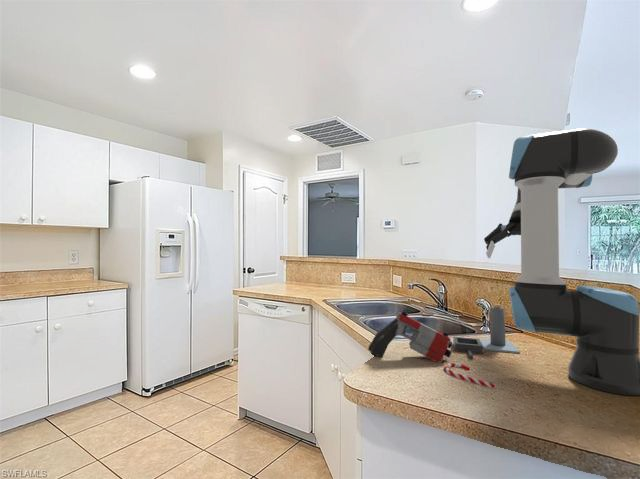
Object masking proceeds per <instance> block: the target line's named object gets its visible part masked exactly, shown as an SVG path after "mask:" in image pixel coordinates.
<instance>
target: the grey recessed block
mask: <svg viewBox="0 0 640 479" xmlns="http://www.w3.org/2000/svg"><path fill="white" fill-rule="evenodd" d="M452 341H453V342H452V345H453V349H454V351H455V352H461V353H467V355H468V359H469V360H473V357H474V355H473V354H480V355H481V354H484V352H483V351H484V349H483V345H482V344H481V342H480V340H479V338H474V337H472V338H471V337H463V336H462V337H461V336H453V337H452Z"/></svg>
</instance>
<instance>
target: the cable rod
mask: <svg viewBox="0 0 640 479" xmlns="http://www.w3.org/2000/svg"><path fill="white" fill-rule="evenodd" d="M505 312H506V309H505V307H501V304H500V303H494V304H493V306H490V307H489V322H490V323H489V326H490V327H489V328H490V329H489V332H490V335H489V336H490V338H489V339H491V344H492V345H496V346H505V345H506V343H505V340H506V313H505Z"/></svg>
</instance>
